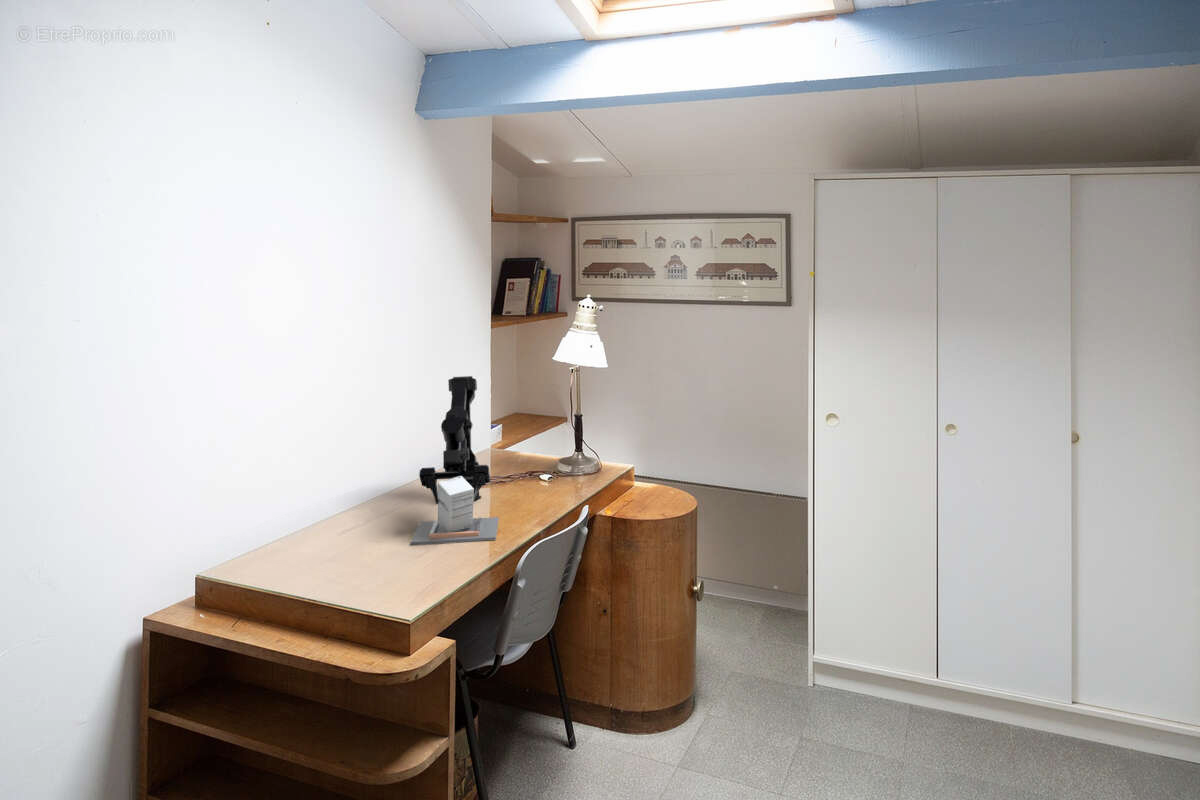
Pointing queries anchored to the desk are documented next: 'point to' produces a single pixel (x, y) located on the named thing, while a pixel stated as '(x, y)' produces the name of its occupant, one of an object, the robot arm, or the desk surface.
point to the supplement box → (455, 504)
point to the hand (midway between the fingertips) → (454, 502)
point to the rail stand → (438, 534)
